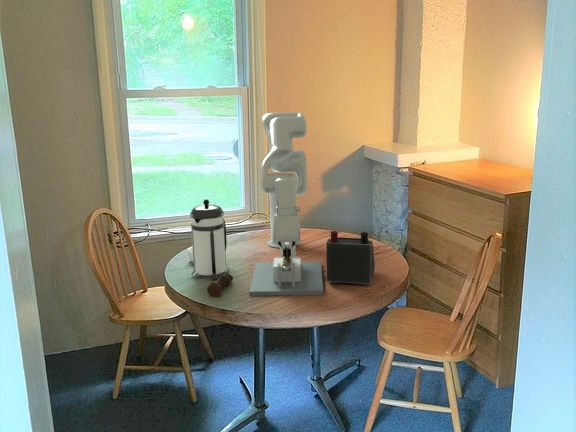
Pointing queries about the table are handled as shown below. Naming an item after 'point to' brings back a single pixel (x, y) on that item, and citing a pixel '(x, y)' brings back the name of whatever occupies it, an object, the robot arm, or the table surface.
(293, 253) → the block
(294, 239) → the robot arm
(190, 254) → the teacup
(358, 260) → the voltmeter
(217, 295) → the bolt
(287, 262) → the wooden building block
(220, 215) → the coffee press
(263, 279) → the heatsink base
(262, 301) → the table surface
